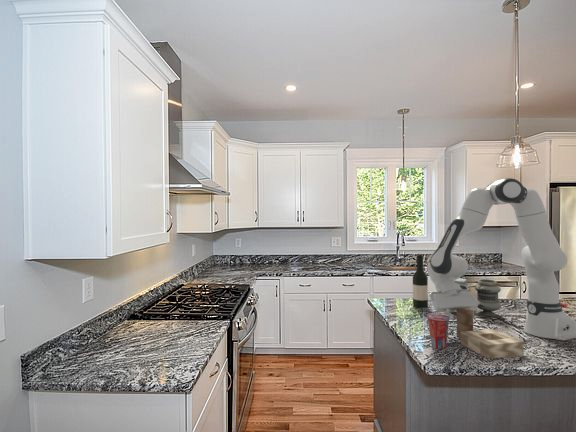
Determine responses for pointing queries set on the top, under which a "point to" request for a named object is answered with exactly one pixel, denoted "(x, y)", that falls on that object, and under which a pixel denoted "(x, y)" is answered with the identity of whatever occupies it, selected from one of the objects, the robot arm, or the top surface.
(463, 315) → the walnut peg
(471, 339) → the socket block
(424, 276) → the wine bottle
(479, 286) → the grey ceramic vase
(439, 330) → the cup
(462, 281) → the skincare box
